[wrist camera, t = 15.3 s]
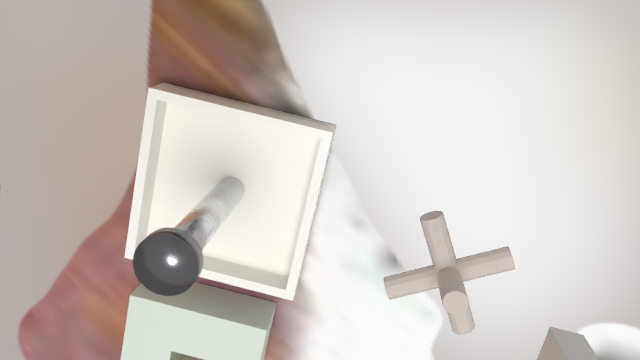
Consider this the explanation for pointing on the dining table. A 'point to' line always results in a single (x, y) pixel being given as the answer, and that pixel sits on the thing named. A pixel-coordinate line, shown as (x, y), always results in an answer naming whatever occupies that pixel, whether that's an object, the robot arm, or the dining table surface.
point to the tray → (238, 161)
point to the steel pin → (185, 242)
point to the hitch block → (197, 325)
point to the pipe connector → (448, 272)
